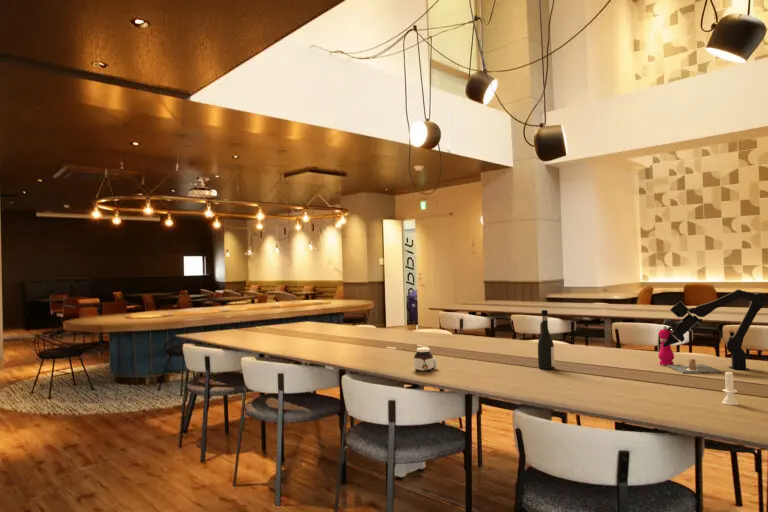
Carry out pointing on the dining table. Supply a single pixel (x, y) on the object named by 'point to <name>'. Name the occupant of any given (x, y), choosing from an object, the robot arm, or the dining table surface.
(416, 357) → the spread jar
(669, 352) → the pepper mill
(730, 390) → the candle
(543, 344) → the wine bottle
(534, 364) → the dining table surface
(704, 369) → the board
